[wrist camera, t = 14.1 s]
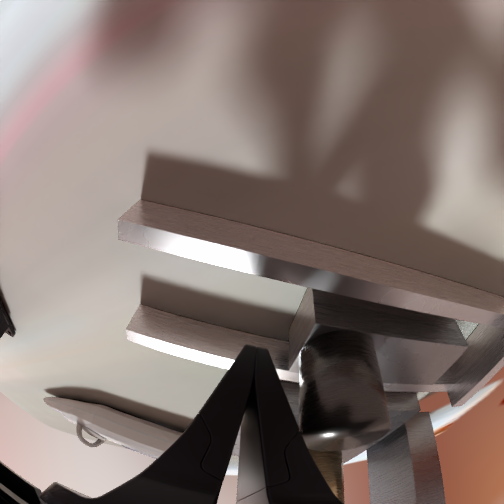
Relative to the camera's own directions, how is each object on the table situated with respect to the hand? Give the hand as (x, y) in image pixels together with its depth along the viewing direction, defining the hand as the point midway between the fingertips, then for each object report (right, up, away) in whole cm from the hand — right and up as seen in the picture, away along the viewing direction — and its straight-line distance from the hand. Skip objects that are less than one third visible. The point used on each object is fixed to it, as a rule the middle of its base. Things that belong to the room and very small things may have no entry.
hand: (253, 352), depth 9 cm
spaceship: (-14, -14, +14) cm, 24 cm away
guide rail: (+4, +1, +3) cm, 5 cm away
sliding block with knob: (+6, 0, +3) cm, 7 cm away
